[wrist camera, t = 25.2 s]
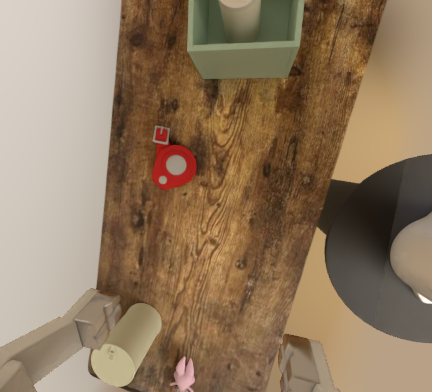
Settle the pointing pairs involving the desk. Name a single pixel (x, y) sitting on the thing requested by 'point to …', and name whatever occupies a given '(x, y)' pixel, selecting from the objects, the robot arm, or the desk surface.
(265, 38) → the bin
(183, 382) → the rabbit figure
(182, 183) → the red flat rounded piece
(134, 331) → the can
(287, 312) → the desk surface
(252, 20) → the paper cup
